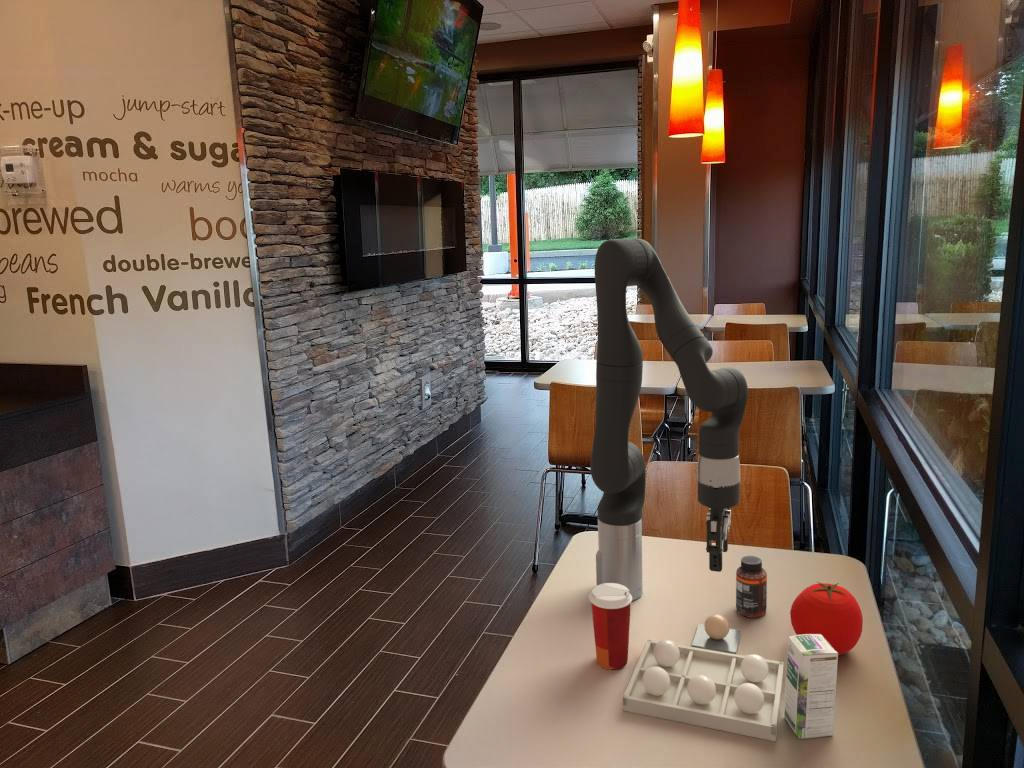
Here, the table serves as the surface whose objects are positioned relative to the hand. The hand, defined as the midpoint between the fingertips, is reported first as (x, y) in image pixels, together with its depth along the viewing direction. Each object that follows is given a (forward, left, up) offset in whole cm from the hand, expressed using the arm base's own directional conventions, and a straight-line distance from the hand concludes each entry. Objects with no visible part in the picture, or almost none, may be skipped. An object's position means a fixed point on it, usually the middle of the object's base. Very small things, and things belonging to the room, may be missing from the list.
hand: (718, 560), depth 143 cm
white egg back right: (+8, -13, -13) cm, 20 cm away
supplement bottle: (+5, +13, -17) cm, 22 cm away
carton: (0, -17, -16) cm, 24 cm away
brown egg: (0, 0, -14) cm, 14 cm away
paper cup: (-17, -13, -17) cm, 27 cm away
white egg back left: (-7, -13, -13) cm, 20 cm away
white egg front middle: (0, -22, -13) cm, 25 cm away
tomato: (+19, +3, -17) cm, 25 cm away
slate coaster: (0, 0, -16) cm, 16 cm away
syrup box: (+17, -21, -17) cm, 32 cm away
